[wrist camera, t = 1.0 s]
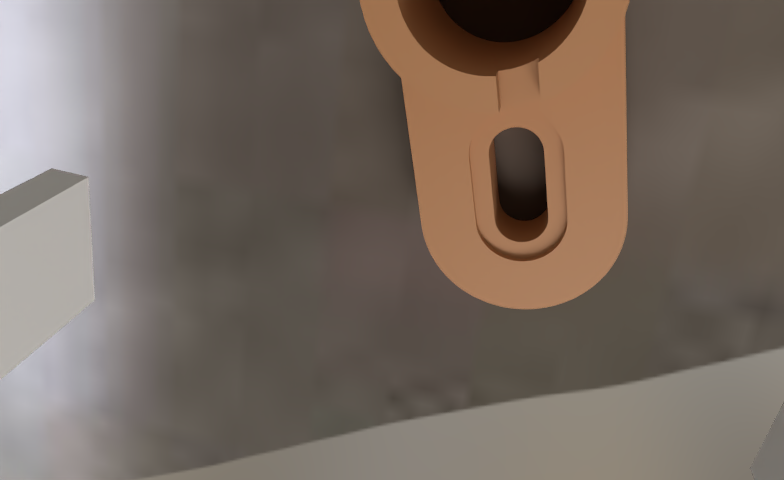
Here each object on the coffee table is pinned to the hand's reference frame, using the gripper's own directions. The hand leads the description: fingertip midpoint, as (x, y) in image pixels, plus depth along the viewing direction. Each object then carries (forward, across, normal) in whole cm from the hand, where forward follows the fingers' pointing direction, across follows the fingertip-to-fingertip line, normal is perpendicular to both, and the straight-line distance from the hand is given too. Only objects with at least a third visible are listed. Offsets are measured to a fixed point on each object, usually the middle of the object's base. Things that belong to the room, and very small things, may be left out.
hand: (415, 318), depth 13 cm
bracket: (+19, +1, 0) cm, 19 cm away
